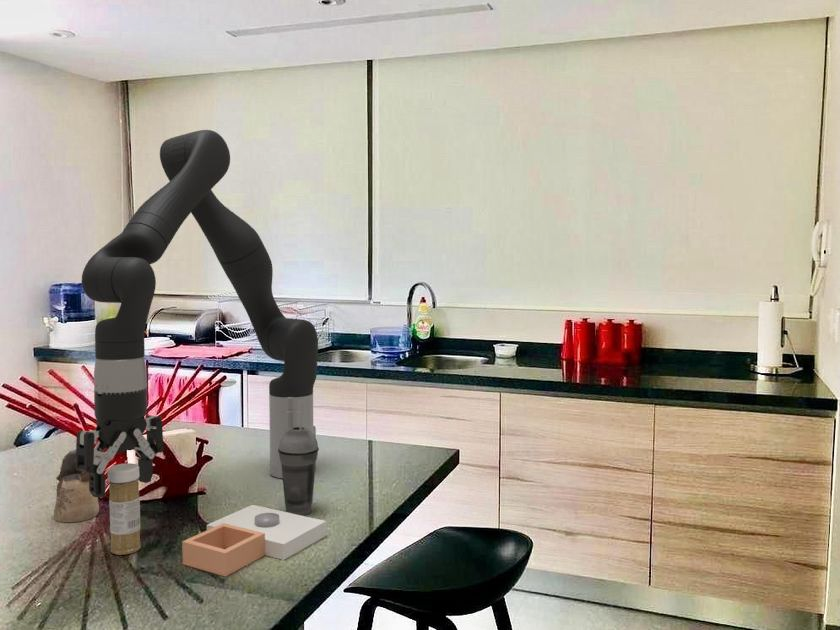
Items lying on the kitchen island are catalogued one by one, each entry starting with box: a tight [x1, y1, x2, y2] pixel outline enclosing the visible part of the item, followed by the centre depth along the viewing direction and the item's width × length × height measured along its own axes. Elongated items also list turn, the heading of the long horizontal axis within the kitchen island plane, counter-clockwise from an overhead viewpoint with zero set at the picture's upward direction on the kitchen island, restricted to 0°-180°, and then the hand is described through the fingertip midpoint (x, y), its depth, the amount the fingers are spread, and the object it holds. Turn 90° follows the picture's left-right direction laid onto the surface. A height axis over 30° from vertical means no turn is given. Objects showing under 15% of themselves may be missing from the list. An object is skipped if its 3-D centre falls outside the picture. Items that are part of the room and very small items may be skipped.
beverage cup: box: [278, 404, 320, 516], centre depth 129 cm, size 7×7×20 cm
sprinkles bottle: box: [107, 462, 142, 556], centre depth 111 cm, size 5×5×14 cm
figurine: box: [53, 448, 100, 523], centre depth 126 cm, size 7×7×12 cm
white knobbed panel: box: [181, 504, 327, 577], centre depth 113 cm, size 20×16×4 cm
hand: (122, 489), depth 111 cm, fingers open, 8 cm apart
